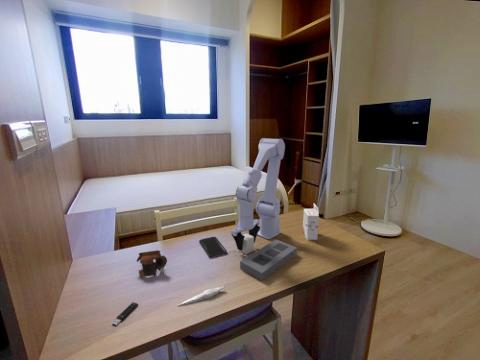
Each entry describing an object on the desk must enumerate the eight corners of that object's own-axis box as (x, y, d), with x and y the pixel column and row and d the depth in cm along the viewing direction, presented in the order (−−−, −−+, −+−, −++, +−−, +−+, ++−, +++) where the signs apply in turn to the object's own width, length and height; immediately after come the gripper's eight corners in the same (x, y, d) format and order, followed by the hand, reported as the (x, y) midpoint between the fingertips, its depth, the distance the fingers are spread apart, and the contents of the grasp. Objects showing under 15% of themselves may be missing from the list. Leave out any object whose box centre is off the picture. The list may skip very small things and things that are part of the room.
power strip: (275, 245, 103) (276, 239, 102) (296, 254, 96) (296, 247, 96) (240, 268, 88) (240, 261, 87) (261, 280, 81) (262, 272, 80)
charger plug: (245, 246, 103) (245, 233, 102) (253, 249, 100) (253, 236, 99) (238, 250, 100) (238, 237, 99) (246, 254, 97) (246, 240, 96)
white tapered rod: (222, 287, 78) (222, 282, 78) (226, 292, 76) (225, 287, 75) (176, 305, 72) (175, 300, 71) (178, 311, 70) (177, 306, 69)
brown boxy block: (130, 278, 84) (130, 253, 86) (148, 274, 93) (147, 252, 95) (160, 275, 81) (159, 249, 83) (176, 271, 89) (174, 248, 92)
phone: (215, 236, 111) (227, 251, 97) (215, 238, 111) (227, 254, 98) (198, 239, 107) (208, 256, 94) (198, 242, 108) (209, 259, 94)
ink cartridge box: (301, 231, 116) (303, 202, 112) (312, 231, 116) (314, 202, 112) (306, 240, 108) (308, 208, 104) (317, 240, 108) (320, 208, 104)
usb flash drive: (117, 327, 64) (116, 323, 64) (111, 325, 65) (111, 322, 64) (138, 306, 71) (138, 303, 71) (133, 304, 72) (132, 301, 72)
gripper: (250, 207, 104) (250, 236, 107) (225, 217, 94) (226, 249, 97) (263, 211, 99) (263, 241, 103) (238, 222, 89) (239, 255, 93)
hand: (246, 245), depth 100 cm, fingers open, 7 cm apart
